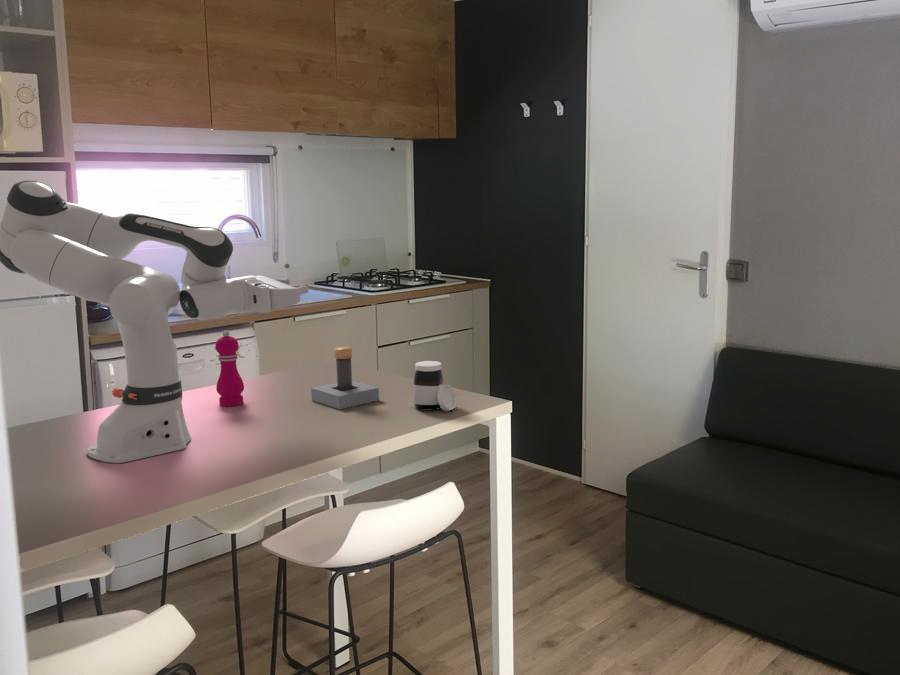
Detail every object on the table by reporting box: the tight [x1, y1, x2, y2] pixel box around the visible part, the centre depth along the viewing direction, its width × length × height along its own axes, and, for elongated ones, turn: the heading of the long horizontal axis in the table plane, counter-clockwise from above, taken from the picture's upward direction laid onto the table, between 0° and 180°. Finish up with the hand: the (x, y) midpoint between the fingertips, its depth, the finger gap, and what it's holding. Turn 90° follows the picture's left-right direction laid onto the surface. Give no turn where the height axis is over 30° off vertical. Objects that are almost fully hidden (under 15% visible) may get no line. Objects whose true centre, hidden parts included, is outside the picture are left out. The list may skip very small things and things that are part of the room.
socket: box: [310, 380, 380, 410], centre depth 230 cm, size 13×13×4 cm
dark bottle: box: [333, 346, 353, 391], centre depth 229 cm, size 5×5×14 cm
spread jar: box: [413, 360, 458, 412], centre depth 220 cm, size 12×11×12 cm
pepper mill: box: [215, 330, 245, 407], centre depth 227 cm, size 7×7×20 cm
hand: (297, 285), depth 217 cm, fingers open, 8 cm apart
